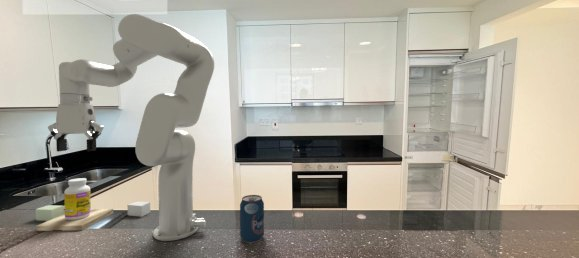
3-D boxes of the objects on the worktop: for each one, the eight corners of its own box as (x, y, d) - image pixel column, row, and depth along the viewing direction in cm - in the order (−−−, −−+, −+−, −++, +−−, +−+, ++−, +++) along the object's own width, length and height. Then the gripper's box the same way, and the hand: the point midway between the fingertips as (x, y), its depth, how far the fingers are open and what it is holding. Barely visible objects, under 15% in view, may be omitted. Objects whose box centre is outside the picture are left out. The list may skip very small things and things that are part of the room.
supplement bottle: (75, 221, 78) (74, 182, 77) (59, 220, 79) (58, 181, 79) (95, 213, 84) (95, 177, 84) (80, 212, 86) (79, 176, 85)
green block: (63, 216, 86) (63, 205, 86) (51, 221, 82) (51, 209, 82) (48, 216, 87) (48, 205, 86) (35, 220, 83) (35, 209, 82)
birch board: (113, 213, 89) (113, 209, 89) (82, 230, 75) (82, 225, 75) (74, 213, 89) (74, 209, 89) (35, 230, 75) (35, 226, 75)
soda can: (258, 245, 66) (257, 202, 66) (235, 242, 68) (235, 200, 68) (267, 234, 73) (267, 195, 72) (246, 231, 75) (246, 193, 74)
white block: (150, 212, 90) (150, 202, 90) (141, 216, 86) (141, 206, 86) (136, 211, 91) (136, 201, 91) (127, 215, 87) (127, 204, 87)
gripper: (109, 101, 85) (110, 149, 85) (58, 101, 84) (60, 149, 85) (93, 99, 77) (94, 152, 78) (37, 99, 76) (39, 152, 77)
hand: (76, 150), depth 81 cm, fingers open, 9 cm apart
